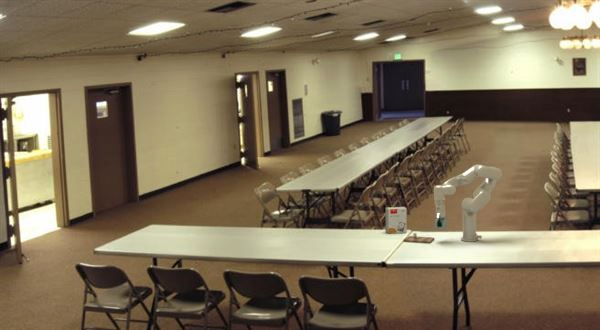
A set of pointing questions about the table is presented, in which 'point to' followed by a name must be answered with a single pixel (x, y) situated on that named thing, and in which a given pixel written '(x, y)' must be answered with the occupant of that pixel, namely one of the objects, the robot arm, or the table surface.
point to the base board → (418, 239)
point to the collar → (444, 223)
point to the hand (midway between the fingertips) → (440, 225)
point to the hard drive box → (396, 220)
